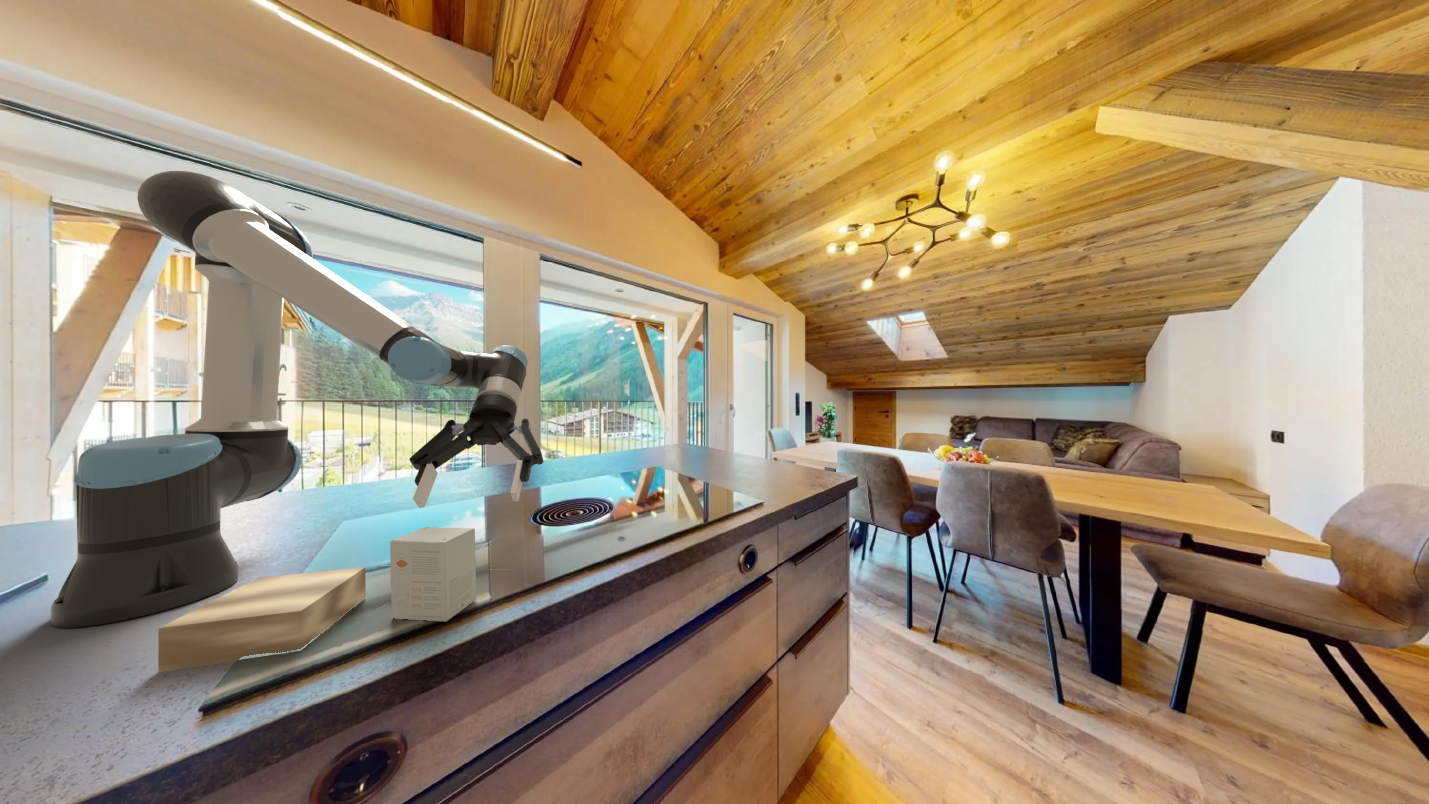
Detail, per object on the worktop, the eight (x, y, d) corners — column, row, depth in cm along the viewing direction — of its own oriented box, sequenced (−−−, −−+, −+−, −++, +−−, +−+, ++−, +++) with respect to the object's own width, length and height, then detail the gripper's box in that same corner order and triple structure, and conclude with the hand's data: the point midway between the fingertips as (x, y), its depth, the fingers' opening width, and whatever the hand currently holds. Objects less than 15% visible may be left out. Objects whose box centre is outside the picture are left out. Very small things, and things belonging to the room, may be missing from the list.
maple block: (258, 614, 52) (258, 577, 52) (365, 601, 55) (365, 566, 55) (158, 675, 40) (158, 627, 40) (301, 654, 43) (301, 610, 43)
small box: (477, 600, 54) (477, 527, 54) (445, 623, 49) (445, 541, 49) (426, 598, 55) (425, 525, 55) (389, 619, 50) (389, 539, 50)
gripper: (565, 416, 81) (554, 506, 66) (430, 419, 75) (386, 517, 60) (561, 391, 76) (548, 482, 61) (416, 391, 69) (363, 492, 55)
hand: (467, 500), depth 61 cm, fingers open, 13 cm apart
